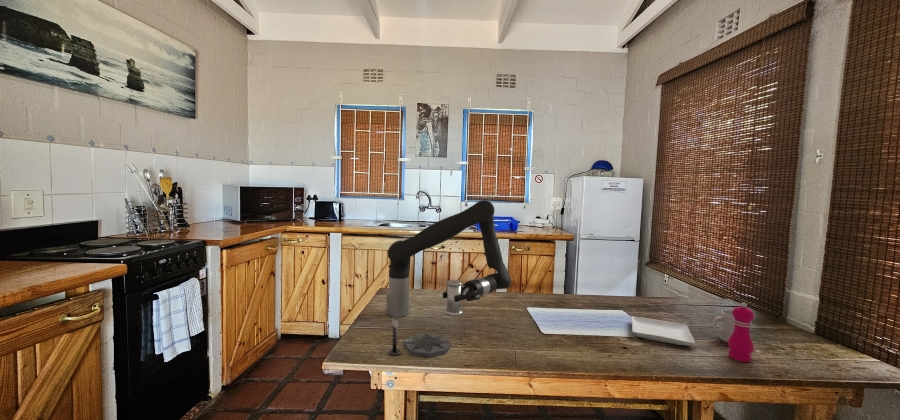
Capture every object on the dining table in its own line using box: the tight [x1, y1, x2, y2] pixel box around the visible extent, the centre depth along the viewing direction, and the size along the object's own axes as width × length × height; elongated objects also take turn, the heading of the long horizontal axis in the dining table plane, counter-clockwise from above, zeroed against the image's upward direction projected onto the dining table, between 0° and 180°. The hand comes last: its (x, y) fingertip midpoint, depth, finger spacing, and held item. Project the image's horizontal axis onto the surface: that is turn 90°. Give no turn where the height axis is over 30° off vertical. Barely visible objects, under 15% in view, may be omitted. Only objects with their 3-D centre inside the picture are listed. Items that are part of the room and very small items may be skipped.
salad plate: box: [630, 315, 696, 346], centre depth 150 cm, size 21×21×3 cm
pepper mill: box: [727, 302, 755, 363], centre depth 130 cm, size 7×7×20 cm
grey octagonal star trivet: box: [403, 332, 452, 359], centre depth 133 cm, size 16×16×2 cm
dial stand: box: [388, 317, 411, 357], centre depth 128 cm, size 8×4×12 cm, turn 119°
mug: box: [712, 309, 735, 343], centre depth 145 cm, size 12×8×11 cm
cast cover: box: [443, 279, 463, 317], centre depth 137 cm, size 7×7×12 cm
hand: (449, 297), depth 135 cm, fingers closed on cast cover, 5 cm apart
